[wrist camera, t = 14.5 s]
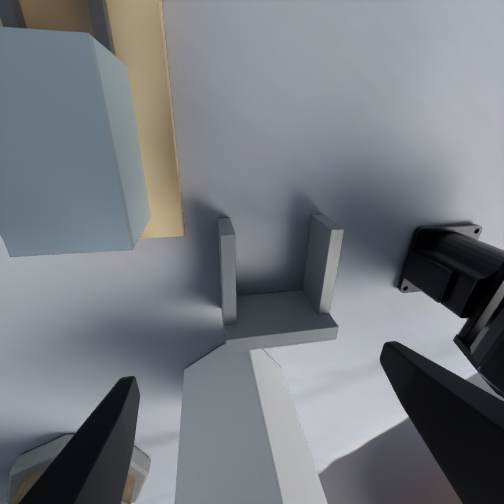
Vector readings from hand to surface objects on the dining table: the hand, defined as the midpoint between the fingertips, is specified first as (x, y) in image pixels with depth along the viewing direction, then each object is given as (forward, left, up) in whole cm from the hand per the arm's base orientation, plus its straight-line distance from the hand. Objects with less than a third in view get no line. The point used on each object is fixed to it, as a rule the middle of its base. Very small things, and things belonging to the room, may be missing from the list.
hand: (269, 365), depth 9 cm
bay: (-3, +2, -12) cm, 12 cm away
